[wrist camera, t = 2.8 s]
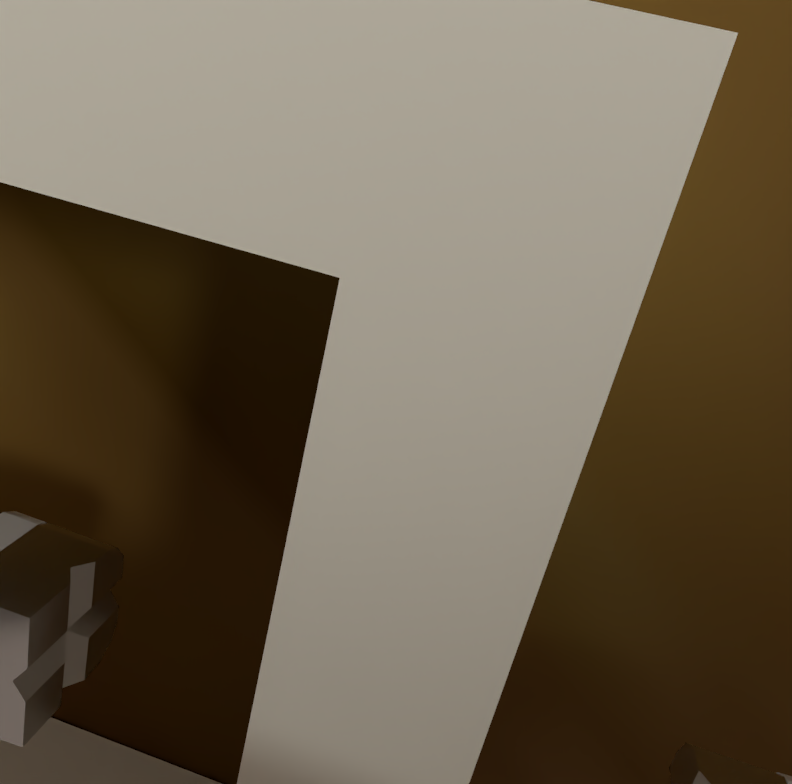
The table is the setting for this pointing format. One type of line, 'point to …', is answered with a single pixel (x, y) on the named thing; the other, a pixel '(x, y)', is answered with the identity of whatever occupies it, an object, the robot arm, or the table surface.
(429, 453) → the link
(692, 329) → the table surface
